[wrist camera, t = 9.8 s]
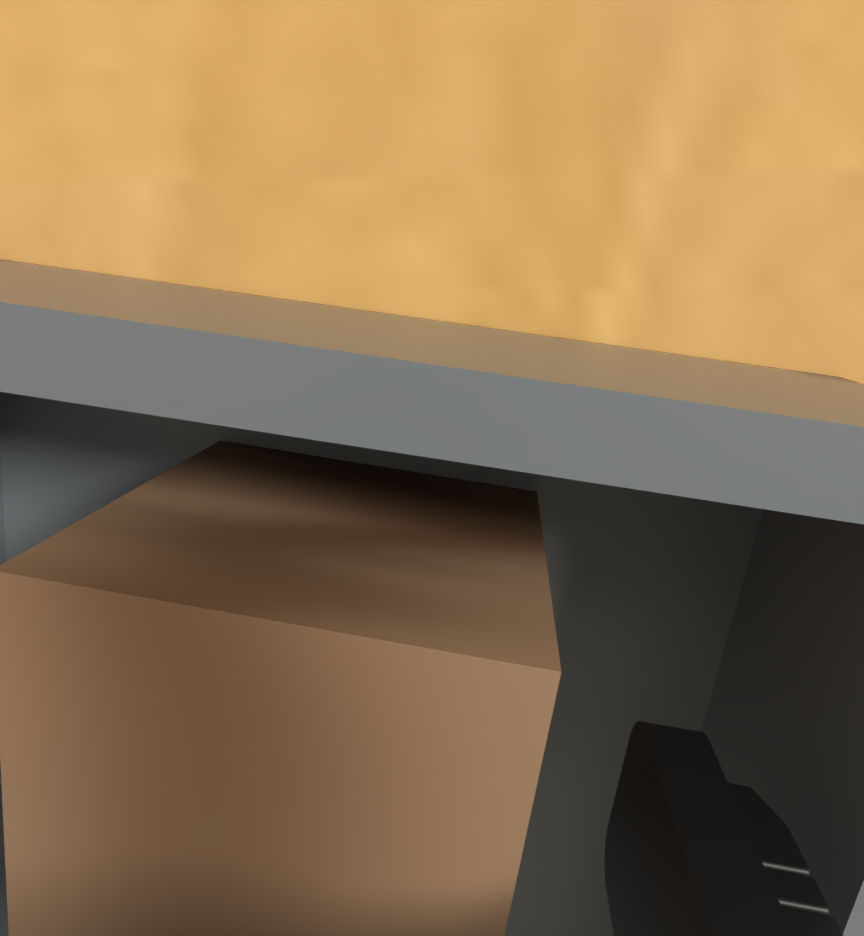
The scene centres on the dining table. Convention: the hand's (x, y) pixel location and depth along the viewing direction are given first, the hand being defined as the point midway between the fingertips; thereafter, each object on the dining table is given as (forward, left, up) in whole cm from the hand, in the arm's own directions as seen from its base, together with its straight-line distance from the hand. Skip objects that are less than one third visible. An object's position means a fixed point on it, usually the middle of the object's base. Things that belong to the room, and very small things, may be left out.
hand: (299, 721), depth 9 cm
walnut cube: (0, 0, -3) cm, 3 cm away
